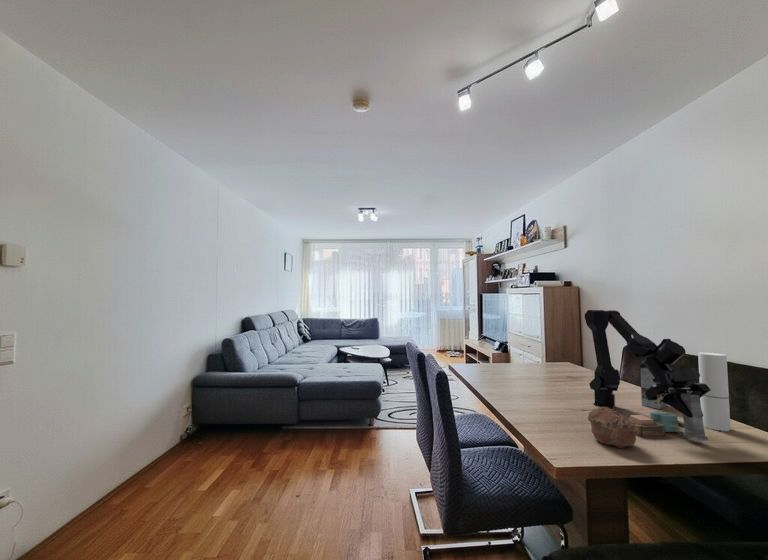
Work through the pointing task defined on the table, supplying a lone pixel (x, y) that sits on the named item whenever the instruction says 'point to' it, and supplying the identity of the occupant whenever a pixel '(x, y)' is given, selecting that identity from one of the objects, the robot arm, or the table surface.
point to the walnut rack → (654, 429)
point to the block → (641, 420)
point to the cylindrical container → (715, 391)
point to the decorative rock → (612, 427)
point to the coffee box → (646, 384)
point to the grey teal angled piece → (691, 425)
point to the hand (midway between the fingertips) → (696, 417)
